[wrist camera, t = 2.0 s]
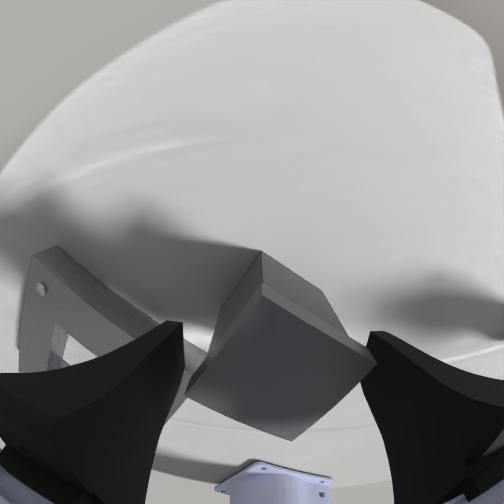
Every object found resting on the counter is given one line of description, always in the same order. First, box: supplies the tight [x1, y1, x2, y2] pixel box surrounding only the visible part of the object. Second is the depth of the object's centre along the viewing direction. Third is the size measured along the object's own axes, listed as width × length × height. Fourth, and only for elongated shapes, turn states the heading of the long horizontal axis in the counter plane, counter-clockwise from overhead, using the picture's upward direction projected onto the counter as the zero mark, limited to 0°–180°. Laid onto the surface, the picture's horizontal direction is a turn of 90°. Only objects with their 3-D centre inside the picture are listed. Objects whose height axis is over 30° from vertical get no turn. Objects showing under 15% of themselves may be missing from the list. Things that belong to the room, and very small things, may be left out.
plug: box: [184, 251, 377, 441], centre depth 11 cm, size 5×5×7 cm
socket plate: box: [19, 246, 208, 425], centre depth 15 cm, size 12×12×3 cm
